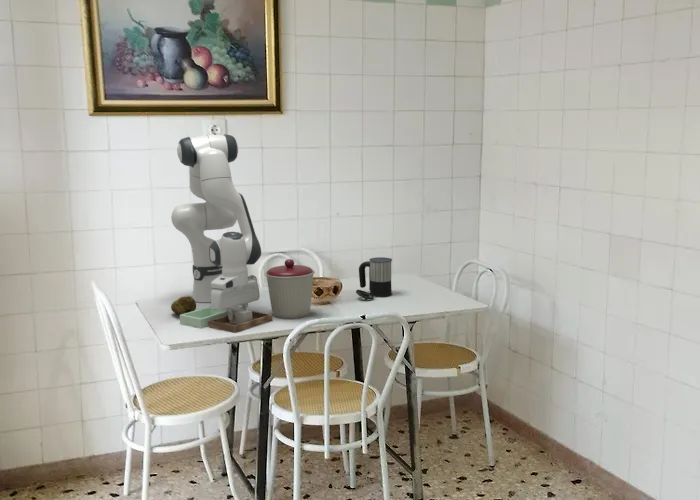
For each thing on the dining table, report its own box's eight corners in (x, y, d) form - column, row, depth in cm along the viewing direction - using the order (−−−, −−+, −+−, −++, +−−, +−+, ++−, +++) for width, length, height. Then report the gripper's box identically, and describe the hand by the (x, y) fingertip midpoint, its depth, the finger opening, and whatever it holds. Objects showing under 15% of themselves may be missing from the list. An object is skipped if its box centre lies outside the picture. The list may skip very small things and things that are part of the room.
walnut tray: (246, 317, 266) (246, 309, 266) (272, 322, 258) (272, 314, 258) (208, 329, 252) (208, 320, 252) (235, 335, 244) (235, 326, 244)
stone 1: (237, 320, 260) (236, 306, 259) (245, 321, 258) (244, 308, 257) (229, 322, 257) (229, 308, 256) (237, 324, 255) (236, 310, 254)
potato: (193, 311, 278) (191, 290, 277) (198, 319, 266) (197, 297, 265) (170, 313, 275) (169, 292, 274) (175, 321, 264) (173, 299, 262)
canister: (260, 313, 272) (257, 257, 268) (306, 308, 279) (304, 253, 275) (275, 325, 255) (273, 265, 252) (323, 318, 262) (322, 260, 259)
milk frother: (393, 292, 301) (392, 256, 299) (391, 301, 286) (390, 264, 283) (358, 292, 303) (357, 257, 300) (354, 301, 287) (354, 264, 285)
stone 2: (244, 323, 256) (244, 309, 255) (252, 325, 253) (251, 310, 253) (236, 325, 253) (236, 311, 252) (244, 327, 250) (244, 313, 250)
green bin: (210, 317, 268) (209, 306, 268) (231, 321, 262) (230, 310, 261) (180, 326, 257) (179, 314, 257) (201, 330, 251) (200, 319, 250)
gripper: (250, 273, 265) (251, 310, 267) (207, 283, 249) (209, 323, 251) (262, 274, 261) (264, 312, 263) (220, 285, 245) (222, 325, 247)
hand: (237, 317), depth 257 cm, fingers closed on stone 1, 4 cm apart
